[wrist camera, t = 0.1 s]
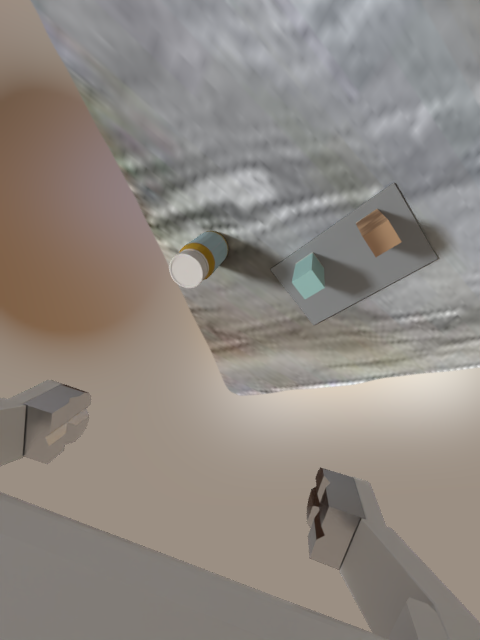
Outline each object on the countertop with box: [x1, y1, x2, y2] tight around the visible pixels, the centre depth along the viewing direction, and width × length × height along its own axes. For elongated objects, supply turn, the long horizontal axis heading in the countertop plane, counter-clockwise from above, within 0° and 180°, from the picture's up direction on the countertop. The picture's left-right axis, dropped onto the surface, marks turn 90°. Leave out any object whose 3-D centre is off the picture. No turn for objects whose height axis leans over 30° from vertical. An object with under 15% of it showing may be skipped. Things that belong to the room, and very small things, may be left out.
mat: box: [270, 183, 438, 325], centre depth 56 cm, size 26×16×1 cm, turn 130°
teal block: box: [292, 252, 325, 299], centre depth 54 cm, size 4×4×10 cm
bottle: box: [169, 231, 228, 288], centre depth 55 cm, size 7×7×15 cm
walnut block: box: [356, 209, 402, 257], centre depth 47 cm, size 4×4×10 cm
